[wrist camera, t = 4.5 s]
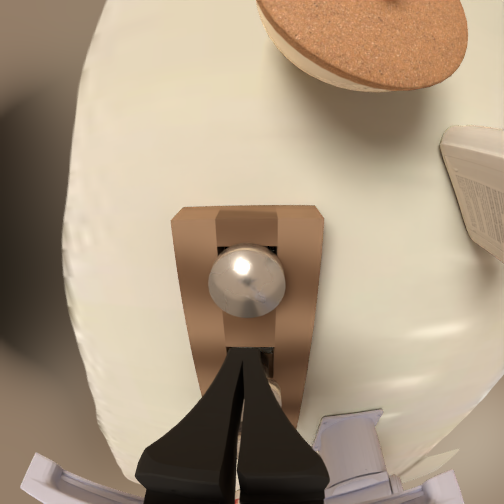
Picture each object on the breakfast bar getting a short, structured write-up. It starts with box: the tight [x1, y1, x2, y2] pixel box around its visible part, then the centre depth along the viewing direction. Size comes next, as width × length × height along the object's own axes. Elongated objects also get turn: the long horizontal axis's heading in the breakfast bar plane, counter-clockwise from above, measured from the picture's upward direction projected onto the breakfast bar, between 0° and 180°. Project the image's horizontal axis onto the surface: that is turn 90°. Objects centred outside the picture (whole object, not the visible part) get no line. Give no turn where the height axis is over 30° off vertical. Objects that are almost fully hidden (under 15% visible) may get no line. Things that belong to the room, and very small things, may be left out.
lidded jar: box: [256, 0, 468, 92], centre depth 9 cm, size 11×11×9 cm
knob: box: [208, 243, 285, 318], centre depth 18 cm, size 4×4×4 cm
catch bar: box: [171, 205, 324, 429], centre depth 22 cm, size 23×9×3 cm, turn 1°
